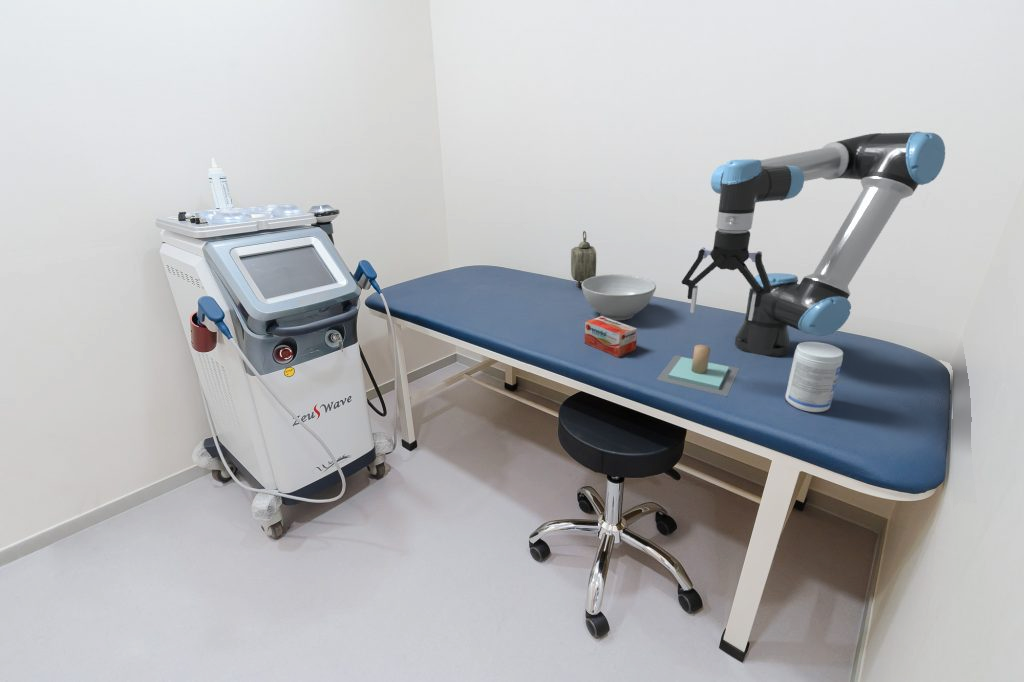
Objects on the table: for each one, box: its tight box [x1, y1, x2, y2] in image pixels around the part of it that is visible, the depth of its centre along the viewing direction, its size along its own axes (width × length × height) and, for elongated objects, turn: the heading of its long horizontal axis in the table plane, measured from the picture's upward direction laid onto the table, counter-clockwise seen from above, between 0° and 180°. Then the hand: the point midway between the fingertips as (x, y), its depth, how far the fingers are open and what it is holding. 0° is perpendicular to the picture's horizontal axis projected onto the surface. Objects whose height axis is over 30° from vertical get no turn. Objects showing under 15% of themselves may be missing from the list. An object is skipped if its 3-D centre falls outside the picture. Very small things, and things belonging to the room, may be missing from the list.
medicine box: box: [584, 316, 638, 358], centre depth 147 cm, size 15×8×8 cm, turn 37°
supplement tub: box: [785, 341, 844, 413], centre depth 111 cm, size 10×10×15 cm
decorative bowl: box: [581, 274, 657, 321], centre depth 172 cm, size 27×27×12 cm
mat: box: [656, 354, 740, 397], centre depth 128 cm, size 18×18×1 cm
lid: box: [668, 344, 729, 390], centre depth 127 cm, size 13×13×8 cm
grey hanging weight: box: [570, 230, 597, 288], centre depth 204 cm, size 14×9×25 cm, turn 1°
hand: (720, 314), depth 117 cm, fingers open, 13 cm apart
